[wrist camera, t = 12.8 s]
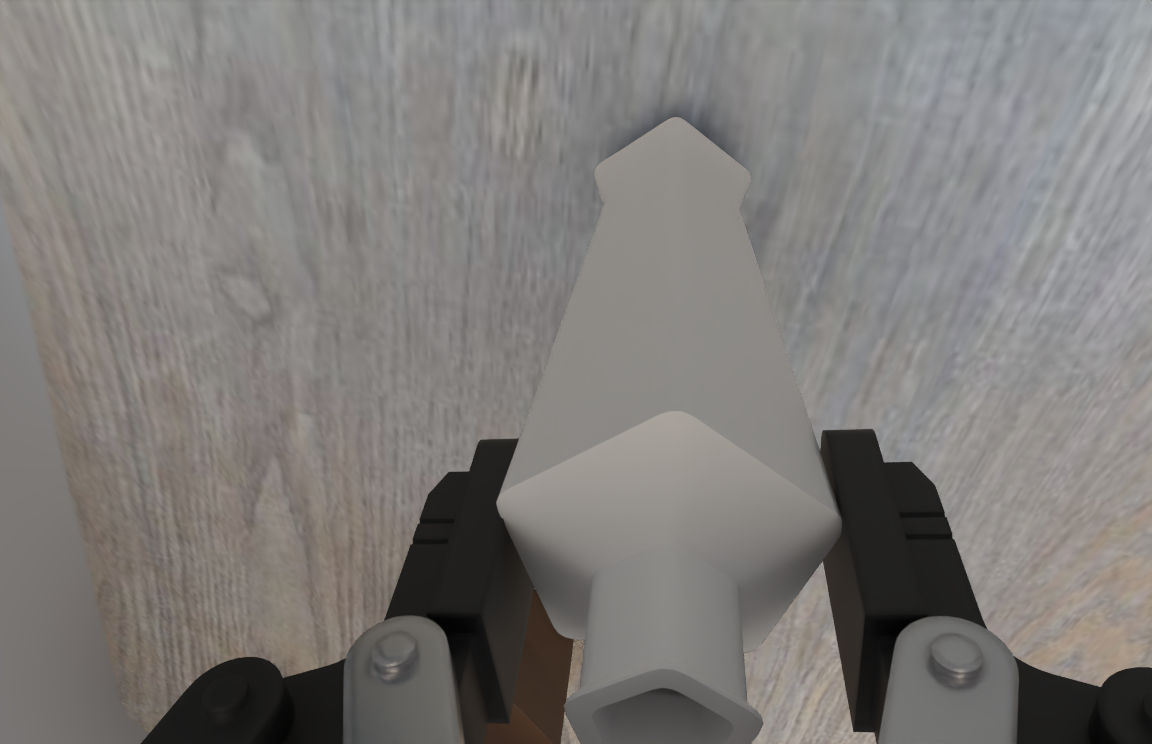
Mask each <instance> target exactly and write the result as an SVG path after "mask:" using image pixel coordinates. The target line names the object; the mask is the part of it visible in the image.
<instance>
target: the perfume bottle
mask: <svg viewBox="0 0 1152 744" xmlns="http://www.w3.org/2000/svg"><path fill="white" fill-rule="evenodd" d="M594 177H595V181H596V184H597V187H598V190H599V194H600V197H601V200H602V203H603V209H602V211H601V214H600V217H599V220H598V223H597V225H596V228H595V231H594V234H593V236H592V239H591V242H590V245H589V247H588V250H587V253H586V256H585V258H584V261H583V264H582V267H581V270H580V272H579V275H578V278H577V281H576V283H575V286H574V289H573V292H572V294H571V297H570V300H569V303H568V305H567V308H566V311H565V314H564V317H563V319H562V322H561V325H560V328H559V330H558V333H557V336H556V339H555V341H554V344H553V347H552V350H551V352H550V355H549V358H548V361H547V364H546V366H545V369H544V372H543V375H542V377H541V380H540V383H539V386H538V388H537V391H536V394H535V397H534V399H533V402H532V405H531V408H530V411H529V413H528V416H527V419H526V422H525V424H524V427H523V430H522V433H521V435H520V438H519V441H518V444H517V447H516V449H515V452H514V455H513V458H512V460H511V463H510V466H509V469H508V471H507V474H506V477H505V480H504V482H503V485H502V488H501V491H500V494H499V496H498V499H497V502H496V504H497V508H498V512H499V514H500V516H501V518H503V519H504V523H505V526H506V529H507V531H508V533H509V535H510V537H511V539H512V541H513V543H514V545H515V547H516V549H517V551H518V554H519V556H520V558H521V560H522V562H523V564H524V566H525V568H526V570H527V572H528V574H529V577H530V579H531V581H532V583H533V585H534V587H535V589H536V591H537V593H538V595H539V597H540V599H541V602H542V604H543V606H544V608H545V610H546V612H547V614H548V616H549V618H550V620H551V622H552V625H553V627H554V628H555V629H556V631H557V632H558V633H559V634H561V635H562V636H564V637H566V638H571V639H576V640H585V642H584V651H583V661H582V670H581V679H580V689H579V690H577V691H576V692H575V693H573V694H572V695H571V696H570V697H569V698H568V699H567V701H566V703H565V705H564V708H565V713H566V716H567V718H568V720H569V722H570V724H571V726H572V728H573V730H574V731H575V733H576V735H577V737H578V739H579V741H580V743H581V744H751V742H752V741H753V740H754V739H755V738H756V736H757V735H758V734H759V732H760V730H761V728H762V725H763V721H762V717H761V715H760V714H759V713H758V711H756V710H755V709H754V708H753V707H752V706H751V705H749V704H748V703H747V691H746V677H745V664H744V653H747V652H750V651H753V650H756V649H757V648H758V647H759V646H760V645H761V644H762V643H763V641H764V640H765V639H766V637H767V636H768V635H769V633H770V632H771V631H772V629H773V628H774V626H775V625H776V624H777V622H778V621H779V620H780V618H781V617H782V616H783V614H784V613H785V611H786V610H787V609H788V607H789V606H790V605H791V603H792V602H793V600H794V599H795V598H796V596H797V595H798V594H799V592H800V591H801V590H802V588H803V587H804V585H805V584H806V583H807V581H808V580H809V579H810V577H811V576H812V575H813V573H814V572H815V570H816V569H817V568H818V566H819V565H820V564H821V562H822V561H823V559H824V558H825V557H826V555H827V554H828V553H829V551H830V550H831V549H832V547H833V546H834V544H835V543H836V542H837V540H838V539H839V538H840V536H841V531H842V517H841V514H840V511H839V508H838V505H837V501H836V498H835V495H834V492H833V489H832V486H831V483H830V480H829V477H828V474H827V471H826V468H825V465H824V462H823V459H822V456H821V453H820V450H819V447H818V444H817V441H816V438H815V435H814V432H813V429H812V426H811V423H810V420H809V417H808V414H807V411H806V408H805V405H804V402H803V399H802V396H801V393H800V390H799V387H798V384H797V381H796V378H795V375H794V372H793V369H792V366H791V363H790V360H789V357H788V354H787V351H786V348H785V345H784V342H783V339H782V336H781V333H780V330H779V327H778V324H777V321H776V318H775V314H774V311H773V308H772V305H771V302H770V299H769V296H768V293H767V290H766V287H765V284H764V281H763V278H762V275H761V272H760V269H759V266H758V263H757V260H756V257H755V254H754V251H753V248H752V245H751V242H750V239H749V236H748V233H747V230H746V227H745V224H744V221H743V218H742V215H741V212H740V207H741V204H742V202H743V200H744V197H745V195H746V193H747V190H748V188H749V186H750V182H751V175H750V173H749V172H748V171H747V169H745V168H744V167H743V166H742V165H740V164H739V163H738V162H737V161H735V160H734V159H733V158H732V157H730V156H729V155H728V154H727V153H725V152H724V151H723V150H722V149H720V148H719V147H718V146H717V145H715V144H714V143H713V142H712V141H710V140H709V139H708V138H706V137H705V136H704V135H703V134H701V133H700V132H699V131H698V130H696V129H695V128H694V127H693V126H691V125H690V124H689V123H688V122H686V121H685V120H683V119H682V118H680V117H673V118H670V119H668V120H666V121H665V122H663V123H661V124H660V125H658V126H657V127H655V128H654V129H652V130H651V131H649V132H648V133H646V134H644V135H643V136H641V137H640V138H638V139H637V140H635V141H634V142H632V143H631V144H629V145H627V146H626V147H624V148H623V149H621V150H620V151H618V152H617V153H615V154H614V155H612V156H610V157H609V158H607V159H606V160H604V161H603V162H601V163H600V164H599V165H598V166H597V167H596V168H595V171H594Z"/></svg>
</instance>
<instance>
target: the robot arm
mask: <svg viewBox="0 0 1152 744" xmlns="http://www.w3.org/2000/svg"><path fill="white" fill-rule="evenodd" d="M518 441H519V439H487V440H480V441H479V443H478V445H477V448H476V451H475V455H474V458H473V461H472V464H471V468H470V471H469V472H448V473H447V474H446V476H445V477H444V478H443V479H442V480H441V481H440V482H439V483H438V484H437V485H436V487H435V488H434V489H433V490H432V491H431V492H430V493H429V494H428V497H427V500H426V503H425V505H424V508H423V511H422V514H421V517H420V524H418V525H417V528H416V531H415V534H414V537H413V544H412V545H410V548H409V551H408V554H407V557H406V560H405V563H404V565H403V568H402V571H401V574H400V577H399V580H398V583H397V585H396V588H395V591H394V594H393V597H392V600H391V603H390V605H389V608H388V611H387V614H386V617H385V619H384V621H382V622H380V623H378V624H376V625H374V626H373V627H371V628H369V629H368V630H367V631H366V632H364V633H363V634H362V635H361V636H360V637H359V638H358V639H357V640H356V641H355V643H354V644H353V645H352V647H351V648H350V650H349V652H348V654H347V657H346V659H343V660H341V661H339V662H337V663H334V664H331V665H328V666H325V667H321V668H318V669H314V670H310V671H307V672H303V673H300V674H296V675H292V676H289V677H285V678H283V677H282V675H281V673H280V671H279V670H278V668H277V667H276V666H275V665H274V664H272V663H271V662H270V661H267V660H265V659H262V658H257V657H243V658H237V659H233V660H229V661H226V662H224V663H221V664H219V665H217V666H215V667H213V668H211V669H210V670H208V671H207V672H205V673H204V674H202V675H201V676H200V677H199V678H198V679H196V680H195V681H194V682H193V683H192V684H191V685H190V686H189V687H188V689H187V690H186V691H185V692H184V693H183V694H182V696H181V697H180V698H179V699H178V700H177V702H176V703H175V704H174V705H173V706H172V707H171V709H170V710H169V711H168V712H167V713H166V715H165V716H164V717H163V718H162V719H161V720H160V722H159V723H158V724H157V725H156V726H155V727H154V729H153V730H152V731H151V732H150V733H149V735H148V736H147V737H146V738H145V739H144V740H143V742H142V743H141V744H484V739H485V734H486V729H487V724H488V723H496V724H510V718H511V713H512V707H513V701H514V696H515V690H516V685H517V679H518V674H519V668H520V663H521V657H522V652H523V646H524V640H525V635H526V629H527V624H528V618H529V613H530V607H531V602H532V596H533V591H534V585H533V583H532V581H531V579H530V577H529V574H528V572H527V570H526V568H525V566H524V564H523V562H522V560H521V558H520V556H519V554H518V551H517V549H516V547H515V545H514V543H513V541H512V539H511V537H510V535H509V533H508V531H507V529H506V526H505V523H504V519H503V518H501V516H500V514H499V512H498V508H497V504H496V502H497V499H498V496H499V494H500V491H501V488H502V485H503V482H504V480H505V477H506V474H507V471H508V469H509V466H510V463H511V460H512V458H513V455H514V452H515V449H516V447H517V444H518ZM820 453H821V456H822V459H823V462H824V465H825V468H826V471H827V474H828V477H829V480H830V483H831V486H832V489H833V492H834V495H835V498H836V501H837V505H838V508H839V511H840V514H841V517H842V531H841V536H840V538H839V539H838V540H837V542H836V543H835V544H834V546H833V547H832V549H831V550H830V551H829V553H828V554H827V555H826V557H825V558H824V559H823V564H824V569H825V575H826V580H827V586H828V592H829V597H830V603H831V608H832V614H833V620H834V625H835V631H836V636H837V642H838V648H839V653H840V659H841V664H842V670H843V676H844V681H845V687H846V692H847V698H848V703H849V709H850V715H851V720H852V726H853V731H854V732H875V737H876V742H877V744H1152V668H1149V667H1136V668H1129V669H1125V670H1122V671H1119V672H1116V673H1115V674H1113V675H1111V676H1110V677H1109V678H1108V679H1107V680H1106V681H1105V682H1104V683H1103V685H1102V687H1098V686H1094V685H1091V684H1087V683H1083V682H1080V681H1076V680H1072V679H1068V678H1065V677H1061V676H1057V675H1053V674H1050V673H1047V672H1044V671H1041V670H1039V669H1037V668H1034V667H1032V666H1030V665H1028V664H1026V663H1024V662H1022V661H1021V660H1019V659H1017V658H1016V657H1014V656H1013V655H1012V653H1011V651H1010V650H1009V649H1008V647H1007V646H1006V645H1005V644H1004V643H1003V642H1002V641H1001V640H1000V639H999V638H998V637H997V636H996V635H994V634H993V633H992V632H990V631H989V630H988V629H987V628H986V625H985V623H984V621H983V619H982V616H981V613H980V610H979V608H978V605H977V602H976V599H975V596H974V594H973V591H972V588H971V585H970V582H969V579H968V577H967V574H966V571H965V568H964V565H963V563H962V560H961V557H960V554H959V551H958V548H957V546H956V543H955V540H954V539H953V538H952V532H951V529H950V526H949V523H948V520H947V518H946V517H945V515H944V509H943V506H942V503H941V501H940V498H939V495H938V492H937V489H936V487H935V485H934V484H933V483H932V482H931V481H930V480H929V479H928V478H927V477H926V476H925V475H924V474H923V473H922V472H921V471H920V470H919V469H918V468H917V467H916V466H915V465H914V464H913V463H912V462H887V463H884V461H883V458H882V454H881V451H880V448H879V444H878V441H877V437H876V434H875V432H874V430H873V429H856V430H823V432H822V436H821V450H820Z"/></svg>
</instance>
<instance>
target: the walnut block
mask: <svg viewBox="0 0 1152 744" xmlns="http://www.w3.org/2000/svg"><path fill="white" fill-rule="evenodd" d="M573 641H574V639H571V638H566V637H564V636H562V635H561V634H559V633H558V632H557V631H556V629H555V628H554V627H553V625H552V622H551V620H550V618H549V616H548V614H547V612H546V610H545V608H544V606H543V604H542V602H541V599H540V597H539V595H538V594H537V593H536V592H535V591H533V596H532V602H531V607H530V613H529V618H528V624H527V629H526V635H525V640H524V646H523V652H522V657H521V663H520V668H519V674H518V679H517V685H516V690H515V696H514V701H513V707H512V713H511V718H510V724H496V723H488V724H487V729H486V734H485V739H484V744H561V736H562V728H563V720H564V712H565V708H564V705H565V703H566V697H567V689H568V681H569V673H570V665H571V657H572V649H573Z"/></svg>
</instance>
